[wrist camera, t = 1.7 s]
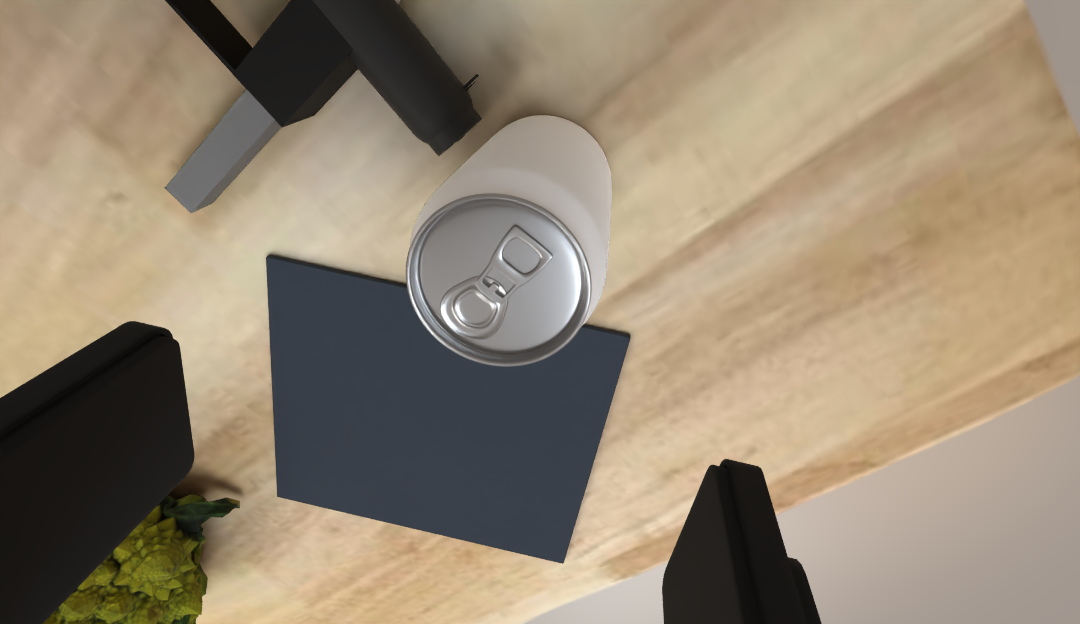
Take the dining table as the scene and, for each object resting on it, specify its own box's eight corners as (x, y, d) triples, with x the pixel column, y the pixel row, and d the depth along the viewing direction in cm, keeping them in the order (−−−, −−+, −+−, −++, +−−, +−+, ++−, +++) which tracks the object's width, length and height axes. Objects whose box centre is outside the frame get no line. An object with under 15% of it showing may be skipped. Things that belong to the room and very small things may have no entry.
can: (452, 190, 29) (352, 294, 18) (533, 81, 26) (471, 127, 15) (553, 271, 30) (516, 412, 19) (641, 176, 27) (654, 279, 16)
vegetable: (228, 493, 35) (14, 784, 27) (297, 534, 48) (165, 737, 41) (33, 388, 37) (-215, 634, 29) (152, 455, 50) (1, 636, 43)
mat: (280, 492, 40) (277, 497, 40) (269, 254, 31) (265, 256, 31) (564, 559, 39) (563, 564, 39) (630, 334, 31) (630, 337, 31)
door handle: (270, 306, 30) (496, 106, 23) (-89, -40, 24) (67, -439, 18) (304, 278, 33) (513, 93, 26) (-11, -37, 27) (150, -379, 20)
